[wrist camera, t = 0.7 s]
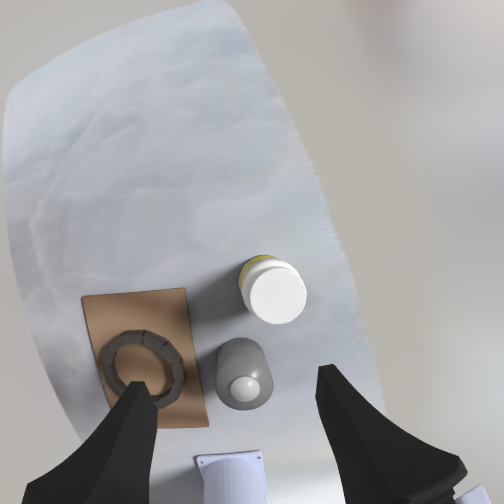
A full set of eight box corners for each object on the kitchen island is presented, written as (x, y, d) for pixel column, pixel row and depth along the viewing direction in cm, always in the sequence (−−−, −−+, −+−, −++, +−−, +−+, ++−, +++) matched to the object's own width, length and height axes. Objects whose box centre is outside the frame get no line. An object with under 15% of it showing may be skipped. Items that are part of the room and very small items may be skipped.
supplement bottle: (289, 299, 29) (314, 325, 20) (241, 306, 28) (248, 336, 20) (284, 251, 28) (308, 258, 20) (235, 257, 28) (239, 267, 20)
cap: (266, 376, 29) (276, 408, 23) (220, 381, 29) (220, 415, 22) (262, 334, 29) (272, 360, 22) (213, 340, 28) (211, 367, 22)
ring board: (209, 423, 29) (208, 434, 27) (119, 424, 28) (114, 433, 26) (184, 287, 28) (181, 291, 26) (84, 295, 27) (76, 299, 25)
